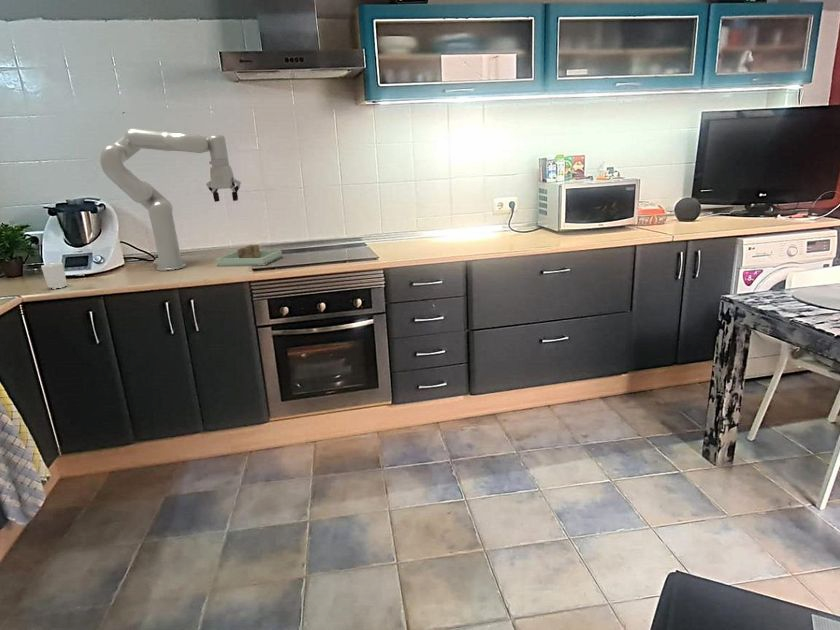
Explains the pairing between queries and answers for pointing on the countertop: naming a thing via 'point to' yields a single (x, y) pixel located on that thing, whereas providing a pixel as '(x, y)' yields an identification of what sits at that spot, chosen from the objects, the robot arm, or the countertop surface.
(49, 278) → the white cup
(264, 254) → the tray
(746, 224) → the countertop surface
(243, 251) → the walnut block
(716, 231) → the countertop surface
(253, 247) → the oak block
